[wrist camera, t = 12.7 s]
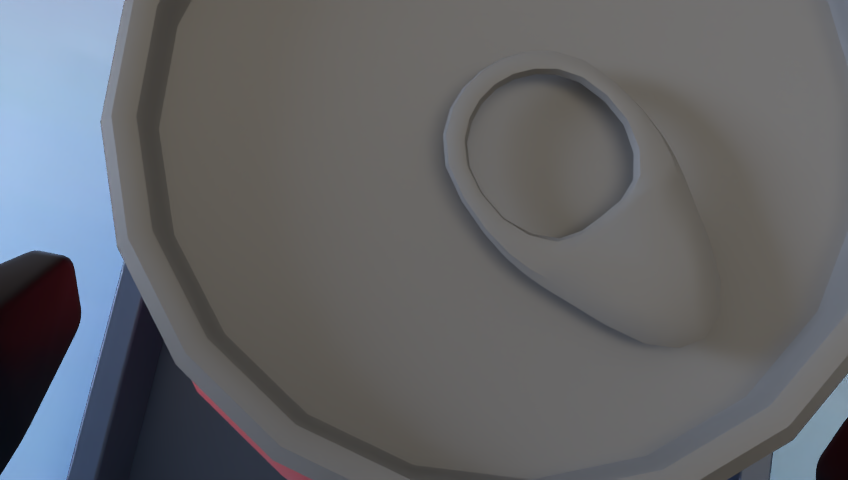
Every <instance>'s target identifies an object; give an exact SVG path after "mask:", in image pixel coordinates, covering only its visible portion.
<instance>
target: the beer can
mask: <svg viewBox="0 0 848 480" xmlns="http://www.w3.org/2000/svg"><path fill="white" fill-rule="evenodd" d="M101 129H102V137H103V144H104V152H105V159H106V167H107V174H108V182H109V189H110V197H111V204H112V212H113V219H114V227H115V234H116V242H117V248H118V250H119V252H120V254H121V256H122V258H123V260H124V262H125V264H126V266H127V268H128V270H129V272H130V274H131V276H132V278H133V280H134V282H135V284H136V286H137V288H138V290H139V292H140V294H141V296H142V298H143V300H144V302H145V304H146V306H147V308H148V310H149V312H150V314H151V316H152V318H153V320H154V322H155V324H156V326H157V328H158V330H159V332H160V334H161V336H162V338H163V340H164V342H165V344H166V346H167V348H168V350H169V352H170V354H171V356H172V358H173V360H174V362H175V364H176V365H177V366H178V367H179V368H180V369H181V370H182V371H183V372H184V373H185V374H186V375H187V376H188V377H189V378H190V379H191V380H192V382H193V384H194V386H195V388H196V390H197V392H198V393H199V394H200V395H201V396H202V397H203V398H204V399H205V400H206V401H207V402H208V403H209V404H210V405H211V406H212V407H213V408H214V409H215V410H216V411H217V412H218V413H219V414H220V415H221V416H222V417H223V418H224V419H225V420H226V421H227V422H228V423H229V424H230V425H231V426H232V427H233V428H234V429H235V430H236V431H237V432H238V433H239V434H240V435H241V436H242V437H243V438H244V439H245V440H246V441H247V442H249V443H250V444H251V445H252V446H253V447H254V448H255V449H256V450H257V451H258V452H259V453H260V454H261V455H262V456H263V457H264V458H265V459H266V460H267V461H268V462H269V463H270V464H271V465H272V466H273V467H274V468H275V469H276V470H277V471H278V472H279V473H280V474H281V475H282V476H283V477H284V478H286V479H287V480H727V479H729V478H731V477H732V476H734V475H736V474H737V473H739V472H741V471H742V470H744V469H746V468H747V467H749V466H751V465H752V464H754V463H756V462H757V461H759V460H761V459H762V458H764V457H766V456H767V455H769V454H770V453H772V452H774V451H775V450H777V449H779V448H780V447H782V446H784V445H785V444H787V443H789V442H790V441H792V440H793V439H794V438H795V437H796V436H797V434H798V433H799V432H800V431H801V430H802V428H803V427H804V426H805V425H806V424H807V422H808V421H809V420H810V419H811V417H812V416H813V415H814V414H815V413H816V411H817V410H818V409H819V408H820V407H821V405H822V404H823V403H824V402H825V400H826V399H827V398H828V397H829V396H830V394H831V393H832V392H833V391H834V390H835V388H836V387H837V386H838V385H839V383H840V382H841V381H842V380H843V379H844V377H845V376H846V375H847V374H848V0H125V1H124V5H123V10H122V15H121V20H120V25H119V30H118V35H117V40H116V45H115V51H114V56H113V61H112V66H111V71H110V76H109V81H108V86H107V91H106V96H105V101H104V106H103V112H102V117H101Z"/></svg>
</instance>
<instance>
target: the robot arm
mask: <svg viewBox="0 0 848 480" xmlns="http://www.w3.org/2000/svg"><path fill="white" fill-rule="evenodd" d="M80 319H81V306H80V300H79V294H78V288H77V282H76V275H75V269H74V266H73V263H72V261H71V260H70V259H69V258H68V257H66V256H63V255H58V254H53V253H48V252H43V251H31V252H28V253H25V254H23V255H20V256H18V257H16V258H13V259H11V260H9V261H6V262H4V263H2V264H0V475H1V473H2V472H3V470H4V468H5V467H6V465H7V464H8V462H9V461H10V459H11V457H12V456H13V454H14V453H15V451H16V449H17V448H18V446H19V444H20V443H21V441H22V439H23V437H24V435H25V434H26V432H27V430H28V428H29V426H30V424H31V422H32V420H33V418H34V416H35V414H36V412H37V410H38V408H39V406H40V404H41V402H42V400H43V398H44V396H45V394H46V392H47V390H48V388H49V386H50V384H51V382H52V380H53V378H54V376H55V374H56V372H57V370H58V368H59V366H60V364H61V362H62V360H63V358H64V356H65V354H66V352H67V350H68V348H69V346H70V344H71V342H72V340H73V338H74V336H75V334H76V332H77V329H78V327H79V323H80ZM816 480H848V418H847V419H846V420H845V421H844V423H843V424H842V426H841V427H840V429H839V430H838V432H837V433H836V434H835V436H834V437H833V439H832V440H831V442H830V443H829V445H828V446H827V448H826V449H825V450H824V452H823V453H822V455H821V457H820V459H819V461H818V464H817V469H816Z"/></svg>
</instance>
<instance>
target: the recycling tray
mask: <svg viewBox="0 0 848 480" xmlns="http://www.w3.org/2000/svg"><path fill="white" fill-rule="evenodd" d="M772 456H773V452H772V453H770V454H769V455H767V456H766V457H764V458H762V459H761V460H759V461H757V462H756V463H754V464H752V465H751V466H749V467H747V468H746V469H744V470H742V471H741V472H739V473H737V474H736V475H734V476H732V477H731V478H729V479H727V480H770V473H771V465H772ZM66 480H287V479H286V478H284V477H283V476H282V475H281V474H280V473H279V472H278V471H277V470H276V469H275V468H274V467H273V466H272V465H271V464H270V463H269V462H268V461H267V460H266V459H265V458H264V457H263V456H262V455H261V454H260V453H259V452H258V451H257V450H256V449H255V448H254V447H253V446H252V445H251V444H250V443H249V442H247V441H246V440H245V439H244V438H243V437H242V436H241V435H240V434H239V433H238V432H237V431H236V430H235V429H234V428H233V427H232V426H231V425H230V424H229V423H228V422H227V421H226V420H225V419H224V418H223V417H222V416H221V415H220V414H219V413H218V412H217V411H216V410H215V409H214V408H213V407H212V406H211V405H210V404H209V403H208V402H207V401H206V400H205V399H204V398H203V397H202V396H201V395H200V394H199V393H198V392H197V390H196V388H195V386H194V384H193V382H192V380H191V379H190V378H189V377H188V376H187V375H186V374H185V373H184V372H183V371H182V370H181V369H180V368H179V367H178V366H177V365H176V364H175V362H174V360H173V358H172V356H171V354H170V352H169V350H168V348H167V346H166V344H165V342H164V340H163V338H162V336H161V334H160V332H159V330H158V328H157V326H156V324H155V322H154V320H153V318H152V316H151V314H150V312H149V310H148V308H147V306H146V304H145V302H144V300H143V298H142V296H141V294H140V292H139V290H138V288H137V286H136V284H135V282H134V280H133V278H132V276H131V274H130V272H129V270H128V268H127V266H126V264H125V262H124V263H123V266H122V270H121V274H120V278H119V282H118V285H117V289H116V293H115V297H114V301H113V304H112V308H111V312H110V316H109V320H108V323H107V327H106V331H105V335H104V339H103V342H102V346H101V350H100V354H99V358H98V361H97V365H96V369H95V373H94V377H93V380H92V384H91V388H90V392H89V396H88V400H87V403H86V407H85V411H84V415H83V419H82V422H81V426H80V430H79V434H78V438H77V441H76V445H75V449H74V453H73V457H72V460H71V464H70V468H69V472H68V476H67V479H66Z"/></svg>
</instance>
